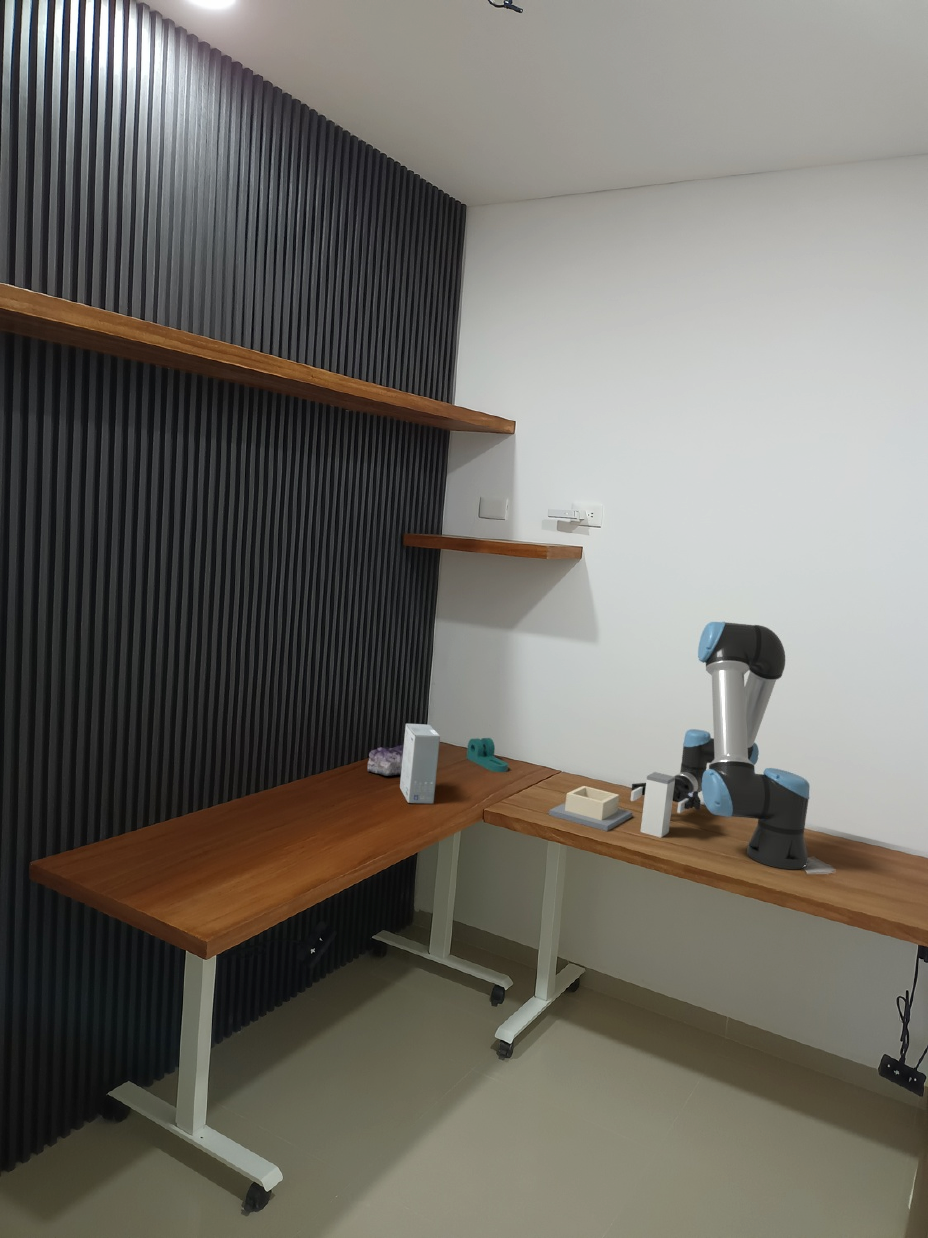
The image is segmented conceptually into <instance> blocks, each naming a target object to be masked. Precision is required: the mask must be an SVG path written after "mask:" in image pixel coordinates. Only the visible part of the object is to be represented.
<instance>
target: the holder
mask: <svg viewBox="0 0 928 1238" xmlns="http://www.w3.org/2000/svg"><path fill="white" fill-rule="evenodd" d="M565 796H566V798H565V802H563V803H561V804H559V805H557V806H555V807H553V808H551V809H549V812H548V816H551V817H555V818H557V819H562V820H565V821H569V822H573V823H575V824H578V825H579V824H580V825H583V826H587V827H590V828H594V829H598V830H600V831H601V830H602V831H605V832H608V831H610V830H612V829H614V828H615V827H617V826H619V825H620V824H622V823H624V822H627V820H629V819H630V818H632V817H633V811H630V810H627V809H623V808H620V807H619V802H620V801H619V800H620V794H619V793H618V794H617V793H613V792H610V791H606V790H602V789H598V788H595V787H589V786H585V785H583V786H580V787H578V788H575V789H573V790H571V791H569V792H567V793H566V795H565Z"/></svg>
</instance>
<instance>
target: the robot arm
mask: <svg viewBox="0 0 928 1238" xmlns="http://www.w3.org/2000/svg"><path fill="white" fill-rule="evenodd" d="M785 651H786V650H785V647H784V645H783V642H782V641H781V639H780V637H779V636H778V635H777V634H776V633H775V632H774V631H773V630H771V629H770V628H769V627H767V626H764V625H760V624H746V623H735V622H725V621H710V622H708V623H707V624H706V625H705V626H704V628H703V630H702V633H701V635H700V639H699V643H698V647H697V658H698V661H699V662H701V663H702V664H703V663H705V671H706V672H707V673H708V674H709V675H710V676H711V688H712V690H711V691H712V717H713V718H712V719H713V724H712V725H713V738H712V737H711V733H710V732H709V731H706V730H702V729H696V728H695V729H693V728H691V729H688V730H686V731H685V735H684V738H683V739H684V740H683V744H682V755H681V763H680V770H679V773H677V774H676V775H673V776H674V777H675V784H674V792H673V801H672V802H675V803H677V810H676V813H677V814H681V813H682V812H684V811H686V810H689V809H693V808H695V810H696V811H697V810H699V811H700V808H701V798H700V797H699V793H700V792H701V794H702V799H703V802H704V804H705V807H706V808H707V810H708V812H710V813H711V814H712V815H715V816H723V817H726V818H731V817H732V818H745V819H755V820H757V825H756V827H755V830H754V832H753V834H752V836H751V838H750V839H749V841H748V844H747V846H746V847H747V848H746V855H747V856H748V857H749V858H750V859H752V860H754V861H755V862H758V863H760V864H762V865H765V866H768V867H773V868H779V869H784V870H800V869H803V868H802V867H803V866H804V865H806V863H807V864H808V851H807V847H806V845H807V844H806V841H805V837H804V836H805V835H804V834H805V827H806V819H807V813H808V806H809V800H810V783H809V781H808V780H807V779H806V778H804V777H802V776H800V775H799V774H796V773H793V772H791V771H787V770H783V769H779V768H774V767H766V768H765V769H764V770H763V774H761V773H756V772H755V771H756V770H755V769H756V767H755V765H756V764H757V762H758V760H759V755H760V753H759V745H758V744H757V743H756V738H757V736H758V732H759V730H760V727H761V724H762V721H763V718H764V716H765V713H766V709H767V708H768V705H769V702H770V699H771V696H772V693H773V690H774V688H775V685H776V682H777V680H779V679H780V678H782V676H783V674H784V670H785V667H786V653H785ZM748 672H749V674H748V676H747V679H746V683H745V675H746V674H747V673H748ZM707 766H708V767H707ZM707 768H708V769H707ZM645 789H646V782H640V783H632V784H631V791H630V792H631V793H630V801H631V802H634V801H636V800H638V799H640V798H642V797H643V796H645Z"/></svg>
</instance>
